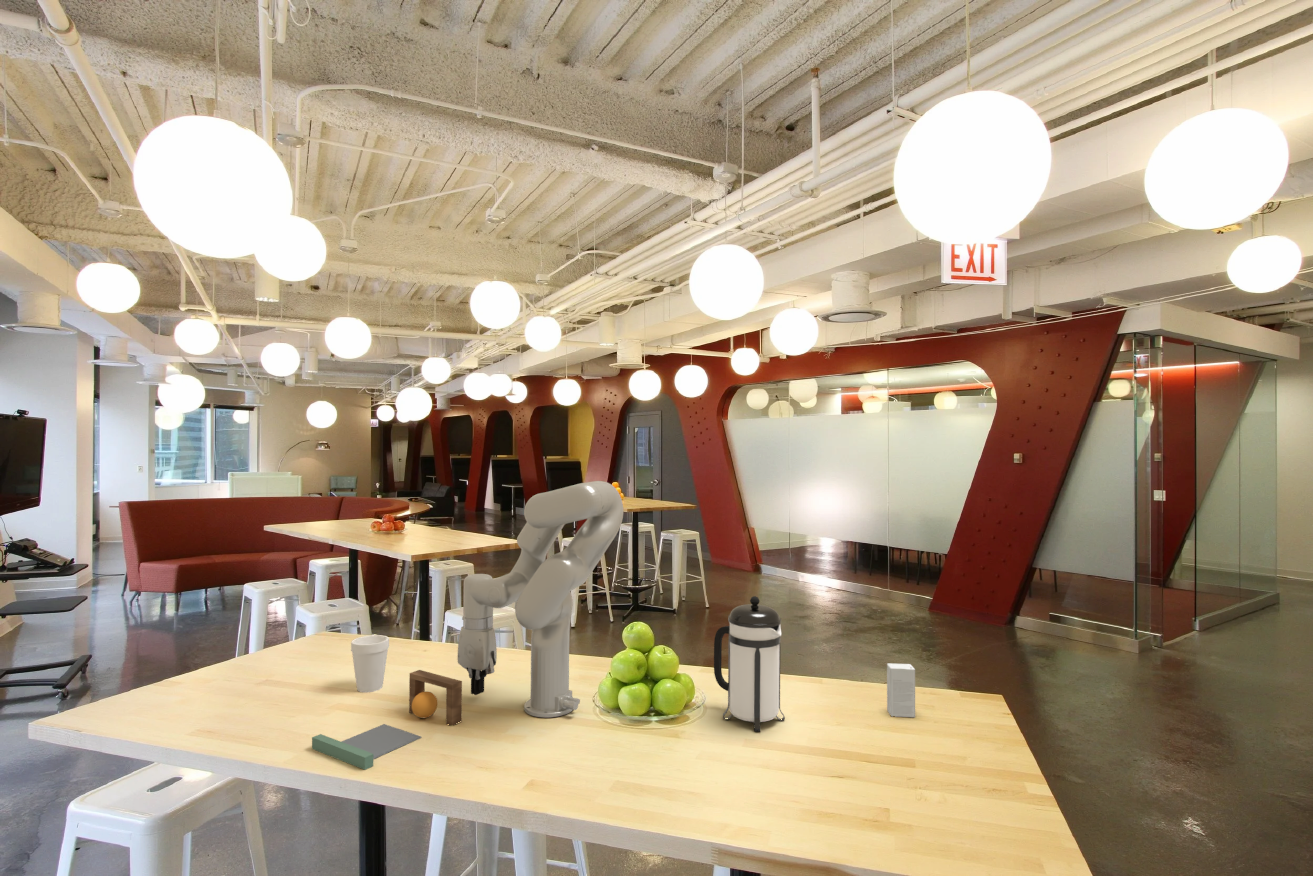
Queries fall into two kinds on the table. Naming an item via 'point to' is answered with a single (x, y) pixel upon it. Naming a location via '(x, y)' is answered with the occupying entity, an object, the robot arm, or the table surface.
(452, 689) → the bridge
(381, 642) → the foam cup
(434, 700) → the ball
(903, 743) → the table surface
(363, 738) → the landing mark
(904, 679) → the skincare box
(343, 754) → the stopper wall
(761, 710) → the coffee press
